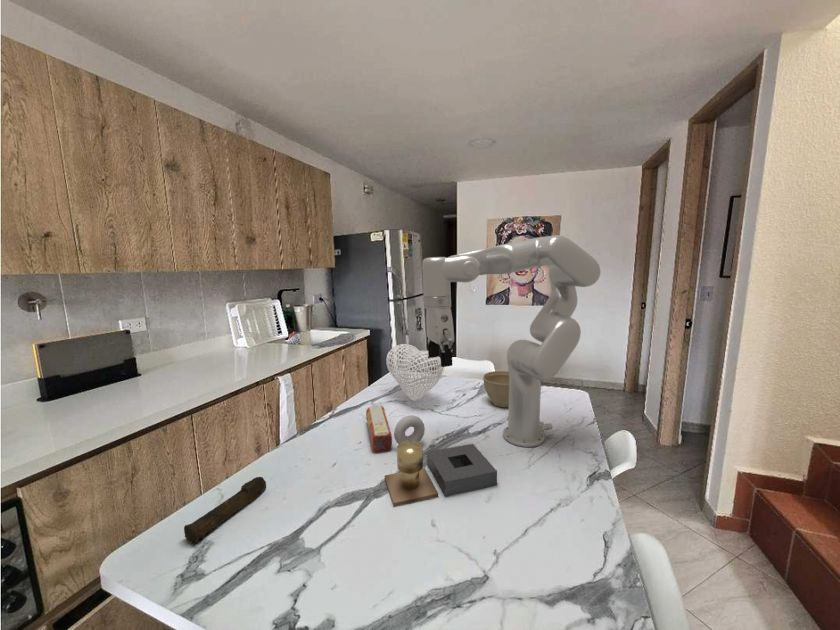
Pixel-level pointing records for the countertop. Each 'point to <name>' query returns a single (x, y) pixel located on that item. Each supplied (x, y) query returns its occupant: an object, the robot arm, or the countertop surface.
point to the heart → (414, 353)
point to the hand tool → (225, 510)
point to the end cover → (410, 463)
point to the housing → (461, 469)
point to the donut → (404, 425)
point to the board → (410, 496)
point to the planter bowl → (497, 387)
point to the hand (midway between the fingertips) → (440, 361)
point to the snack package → (378, 429)
